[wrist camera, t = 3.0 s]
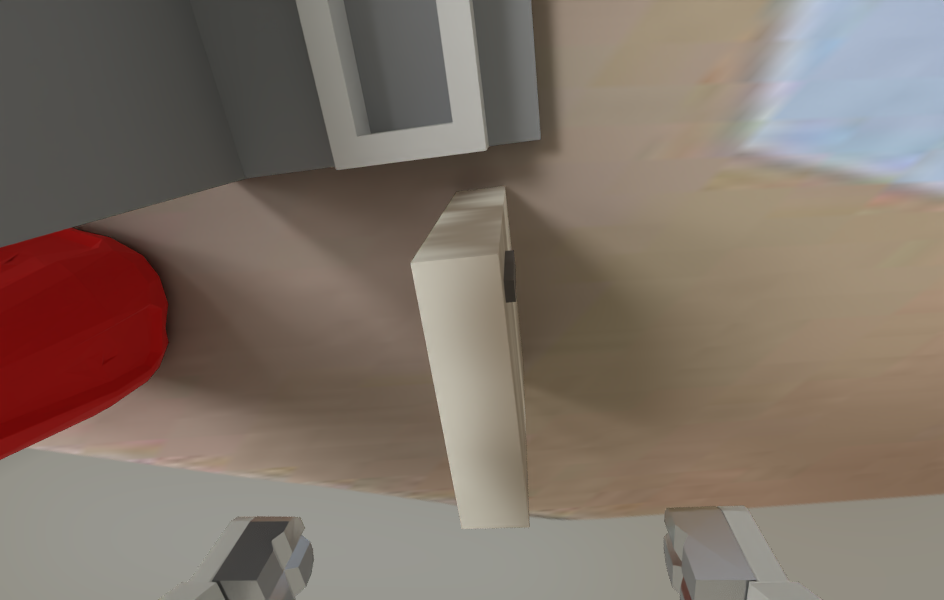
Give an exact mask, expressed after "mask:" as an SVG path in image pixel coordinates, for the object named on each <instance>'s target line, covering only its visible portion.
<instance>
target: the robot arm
mask: <svg viewBox="0 0 944 600" xmlns="http://www.w3.org/2000/svg"><path fill="white" fill-rule="evenodd" d="M664 521H665V524H666V527H667V530H668V533H667V534H666V535H665V536H664V554H665V562H666V566H667V571H668V575H669V578H670V581H671V585H672V587H673V588H674V589H675V590H676V591H677V592H678V593H679V594H680V600H823V599H821V598H820V597H819V596H817V595H816V594H814V593H813V592H812V591H810V590H809V589H808V588H806V587H805V586H804V585H802V584H801V583H800V582H793V581H789V579H788V577H787V575H786V574H785V572H784V570H783V568H782V567H781V565H780V563H779V562H778V560H777V558H776V556H775V555H774V553H773V551H772V549H771V548H770V546H769V544H768V542H767V541H766V539H765V537H764V535H763V534H762V532H761V530H760V529H759V527H758V525H757V523H756V522H755V520H754V518H753V516H752V515H751V513H750V511H749V510H748V509H747V508H746V507H745V506H718V507H716V506H704V507H675V508H666V510H665V520H664ZM304 529H305V527H304V524H303V522H302V520H301V518H300V517H259V516H257V517H236V518H235V519H233V520H232V521H231V522H230V523H229V524H228V526H227V527H226V528H225V530H224V531H223V533H222V534H221V536H220V537H219V538H218V540H217V541H216V543H215V544H214V546H213V547H212V549H211V550H210V551H209V553H208V554H207V556H206V557H205V559H204V560H203V562H202V563H201V564H200V566H199V567H198V569H197V570H196V571H195V573H194V574H193V576H192V577H191V579H190V580H189V581H188V582H181V583H180V584H179V585H177V586H176V587H175V588H173V589H172V590H171V591H169V592H168V593H166V594H165V595H164V596H162V597H161V598H160V599H158V600H296V599H295V596H296V595H298V594H299V593H300V592H301V591H302V590H303V589H304V588H305V587H306V586H307V583H308V581H309V578H310V576H311V573H312V567H313V562H314V555H313V548H312V545H311V543H310V541H308V540H307V539H306V538H305V537H304V536H302V533H303V531H304Z"/></svg>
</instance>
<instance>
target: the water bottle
mask: <svg viewBox="0 0 944 600" xmlns="http://www.w3.org/2000/svg"><path fill="white" fill-rule="evenodd" d="M167 309H168V302H167V299H166V296H165V293H164V290H163V287H162V283H161V280H160V277H159V276H158V274H157V273H156V272H155V270H154V269H153V268H152V267H151V265H150V264H149V263H148V261H147V260H146V259H145V258H144V256H143V255H141V254H139V253H138V252H136V251H134V250H132V249H130V248H129V247H127V246H125V245H123V244H121V243H120V242H118V241H116V240H114V239H112V238H111V237H107V236H102V235H98V234H93V233H89V232H84V231H80V230H77V229H74V228H68V229H64V230H61V231H57V232H54V233H50V234H47V235H43V236H39V237H36V238H32V239H29V240H25V241H22V242H18V243H15V244H11V245H7V246H4V247H0V460H1V459H3V458H5V457H7V456H9V455H11V454H14V453H16V452H18V451H20V450H22V449H24V448H26V447H29V446H31V445H33V444H35V443H37V442H39V441H41V440H43V439H46V438H48V437H50V436H52V435H54V434H56V433H58V432H60V431H63V430H65V429H67V428H69V427H71V426H73V425H75V424H77V423H80V422H82V421H84V420H86V419H88V418H90V417H92V416H94V415H96V414H98V413H100V412H101V411H103V410H105V409H107V408H109V407H111V406H112V405H113V404H115V403H116V402H118V401H119V400H121V399H122V398H124V397H125V396H127V395H128V394H130V393H131V392H132V391H134V390H135V389H137V388H138V387H140V386H141V385H143V384H144V383H146V382H147V381H148V380H149V379H150V377H151V376H152V375H153V374H154V373H155V371H156V370H157V369H158V368H159V367H160V364H161V362H162V359H163V356H164V353H165V351H166V348H167V345H168V343H169V342H168V338H167V333H166V329H165V326H166V318H167Z"/></svg>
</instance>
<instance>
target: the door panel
mask: <svg viewBox="0 0 944 600" xmlns="http://www.w3.org/2000/svg"><path fill="white" fill-rule="evenodd" d="M410 264H411V269H412V274H413V279H414V284H415V290H416V295H417V300H418V305H419V310H420V315H421V321H422V326H423V331H424V336H425V341H426V346H427V352H428V357H429V362H430V367H431V372H432V377H433V383H434V388H435V393H436V398H437V403H438V408H439V414H440V419H441V424H442V429H443V434H444V439H445V445H446V450H447V455H448V460H449V465H450V470H451V476H452V481H453V486H454V491H455V496H456V501H457V507H458V512H459V517H460V522H461V527H462V529H479V528H480V529H481V528H482V529H483V528H522V527H529V526H530V524H529V498H528V472H527V446H526V420H525V394H524V368H523V355H522V345H521V336H520V326H519V316H518V306H517V297H516V268H515V258H514V250H512V248H511V238H510V228H509V219H508V209H507V199H506V189H505V186H499V187H490V188H482V189H474V190H466V191H457V192H456V193H455V195H454V196H453V198H452V199H451V201H450V202H449V204H448V206H447V207H446V209H445V210H444V212H443V213H442V215H441V216H440V218H439V220H438V221H437V223H436V224H435V226H434V227H433V229H432V230H431V232H430V233H429V235H428V237H427V238H426V240H425V241H424V243H423V244H422V246H421V247H420V249H419V250H418V252H417V254H416V255H415V257H414V258H413V260H412V261H411V263H410Z"/></svg>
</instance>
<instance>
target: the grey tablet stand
mask: <svg viewBox="0 0 944 600" xmlns="http://www.w3.org/2000/svg"><path fill="white" fill-rule="evenodd" d="M540 139H541V134H540V120H539V106H538V92H537V77H536V63H535V49H534V35H533V20H532V6H531V0H0V247H4V246H7V245H11V244H15V243H18V242H22V241H25V240H29V239H32V238H36V237H39V236H43V235H47V234H50V233H54V232H57V231H61V230H64V229H68V228H72V227H75V226H79V225H82V224H86V223H89V222H93V221H96V220H100V219H104V218H107V217H111V216H114V215H118V214H121V213H125V212H128V211H132V210H136V209H139V208H143V207H146V206H150V205H153V204H157V203H160V202H164V201H168V200H171V199H175V198H178V197H182V196H185V195H189V194H193V193H196V192H200V191H203V190H207V189H210V188H214V187H217V186H221V185H225V184H228V183H232V182H235V181H239V180H242V179H246V178H254V177H261V176H269V175H276V174H284V173H291V172H299V171H306V170H314V169H322V168H329V167H336V170H342V169H350V168H358V167H365V166H373V165H380V164H388V163H396V162H403V161H411V160H418V159H426V158H434V157H441V156H449V155H456V154H464V153H472V152H479V151H486V150H487V149H488V147H489V146H495V145H502V144H510V143H517V142H525V141H533V140H540Z"/></svg>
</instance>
